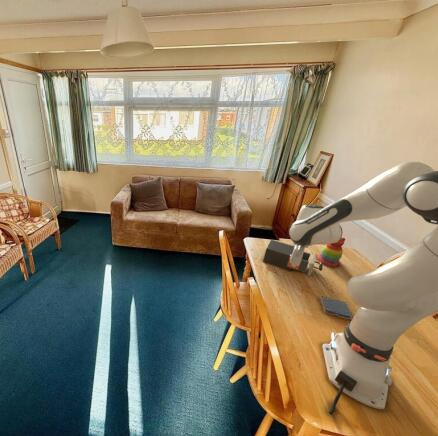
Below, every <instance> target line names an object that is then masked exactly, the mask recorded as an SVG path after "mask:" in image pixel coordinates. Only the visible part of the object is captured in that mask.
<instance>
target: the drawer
mask: <svg viewBox="0 0 438 436" xmlns="http://www.w3.org/2000/svg"><path fill="white" fill-rule="evenodd" d="M310 257H311V259H310ZM316 258H317V254H316V253H313V254H312V256H311V253H309V252H306V251H304V253H303V256H302V259H301V262H300V265H299V268H298V270H297V269H293V268H291V270H292V269H293V270H295V271H299V272H302V273H304V274H305V273H306V271H307V276H311V274H312V272H313V269H316V270H318V271H320V272H322V271H323V268H324V267H323V266H324V264H323V263H322V262H320V261H316ZM309 260H310V261H309ZM315 263H316V264H318V267H317V266H315ZM307 268H308V270H307Z"/></svg>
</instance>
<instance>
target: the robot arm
mask: <svg viewBox="0 0 438 436" xmlns="http://www.w3.org/2000/svg"><path fill="white" fill-rule="evenodd" d="M405 207H407V208H408V209H410V210H411V211H412V212H413V213H415V214H416V215H418V216H420V217H421V218H422V219H423V220H424V221H425V222H427V223H429V224H431V225H436V227H435V228H434V229H433V230H432V231H430V233H429V234H427V235H425V237H424V238H422V239H421V240H420V241H419V242H417V243H416V244H415V245H413V246H412V247H411V248H410V249H409V250H408V251H406V252H405V253H403V254H402V255H401V256H399V257H397V258H395V259H393V260H391V261H389V262H387V263H385V264H383V265H381V266H379V267H377V268H374V269H372V270H369V271H367V272H364V273H361V274H357V275H354V276H352V277H350V278H349V279H348V282H347V284H346V292H347V295H348V296H349V298H350V301H352V303H354V304H355V305H356V306H358V309H357V310H356V312H355V314H354V316H352V319H351V321H350V322H348V323H347V324H346V325H345V327H344V330H343V331H342V332H338V333H336V334H335V335H334V332H332V333H331V341H330V343H323V344H322V351H323V352H322V353H323V357H324V362H325V367H326V371H327V376H328V380H329V383H331V384H332V385H333V386H334V387H336V388H337V389H338V391H337V393H336V395H335V397H334V399H333V402H332V404H331V405H330V408H329V411H328V414H329V415H333V413H334V411H335V408H336V406H337V404H338V402H339V401H340V398H341V396H342V394H343V393H344V394H345V395H346V396H348V397H350V398H352V399H354V400H355V401H357V402H359V403H361V404H363V405H366V406H368V407H370V408H373V409H377V410H385V407H386V404H387V398H388V392H389V386H390V387H391V385H393V381H394V380H393V378H391V375H390V373H389V372H392V370H393V366H390V362H391V359H392V354H393V351H394V347H395V344H396V343H397V342H398V340H399V339H400V338H401V337H402V336H403V334H405V332H406V331H407V330H409V329H410V328H412V327H413V326H415V325H416V324H418V323H420V322H421V321H422V320H424V319H425V318H427V317H428V316H431V315H433V314H434V313H436V312H438V170H435V169H434V168H432V167H431V166H429V165H428V164H426V163H423V162H420V161H406V162H402V163H400V164H397V165H395V166H393V167H391V168H389V169H387V170H385V171H384V172H382V173H379V174H378V175H376V176H374V177H373V178H371V180H369V181H367V182H366V183H365V184H363V185H362V186H360V187H359V188H357V189H356V190H353V191H352V192H351V193H349V194H347V195H346V196H343V197H341V198H340V199H338V200H336V201H335V202H332V203H331V204H328V205H327V206H325V207H324V206H322V205H319V204H313V203H312V204H304V205H302V207H300V209H299V212H298V214H297V217H296V220H295V221H294V222H293V223H292V224H291V225H290V227H289V230H288V236H289V238H290V241H291V242H292V244H293V246H295V247H294V250H293V253H292V257H291V260H290V263H291V266H292V267H296V265H297V266H299V265H300V262H301V259H302V256H303V253H304V252H305V249H307V248H309V247H312V246H314V245H315V246H318V245H327V244H332V243H337V242H338V241H339V240H340V239H341V237H342V238H343V228H342V226H341V223H345V222H353V221H363V220H364V221H365V220H375V219H380V218H382V217H386V216H388V215H392V214H393V213H397V212H398V211H400V210H402V209H404V208H405Z"/></svg>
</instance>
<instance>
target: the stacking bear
mask: <svg viewBox="0 0 438 436" xmlns="http://www.w3.org/2000/svg"><path fill="white" fill-rule="evenodd" d="M345 241H346V238H345V237H343V236H342V237H341V239H340V240H339V241H338V242H337V243H332V244H324V245H325V246H323V248H322V249H321V254H317V255H316V259H317V260H318V262H319V263H320V262H322V263H323V266H328V267H332V268H333V267H338V266H339V265H340V260H341V259H342V256H343V251H344V249H343V246H344V245H345Z"/></svg>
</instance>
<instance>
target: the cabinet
mask: <svg viewBox="0 0 438 436" xmlns="http://www.w3.org/2000/svg"><path fill="white" fill-rule="evenodd" d="M294 247H295V245H292V244H288V243H285V242H281V241H277V240H275V239H270V241H269V243H268V244H267V246H266V248H265V251H264V256H263V260H262V262H263V263H266V264H268V265H271V266H274V267H277V268H280V269H283V270H287V271H289V272H291V270H292V268H290V267H287V265H288V261H289V258H290V255H291V254H292V253H293V250H294Z"/></svg>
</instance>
